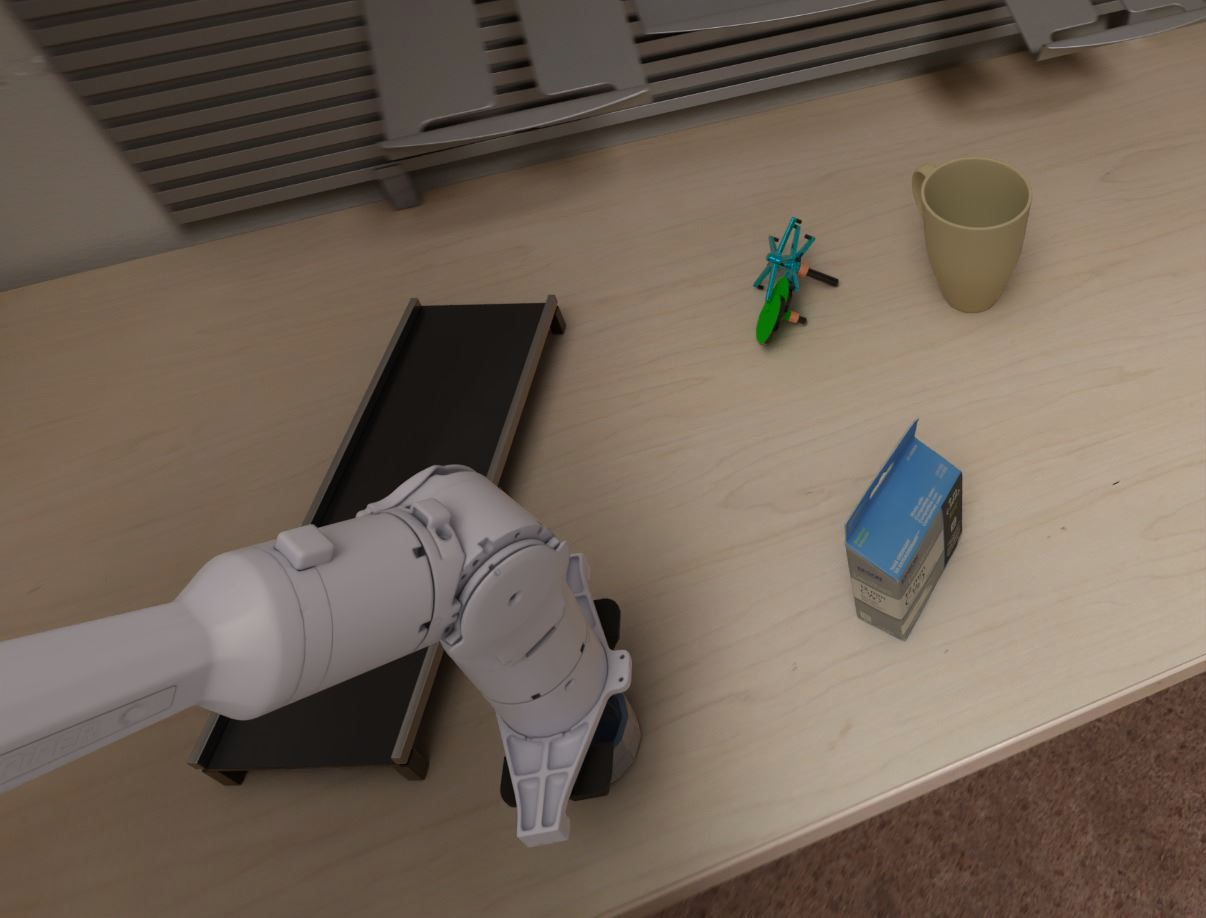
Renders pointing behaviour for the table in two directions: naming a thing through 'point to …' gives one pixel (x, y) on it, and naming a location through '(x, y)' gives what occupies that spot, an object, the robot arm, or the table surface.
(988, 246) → the mug
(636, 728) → the cup
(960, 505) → the label tape box
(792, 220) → the stick construction toy
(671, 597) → the table surface
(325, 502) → the conveyor belt
